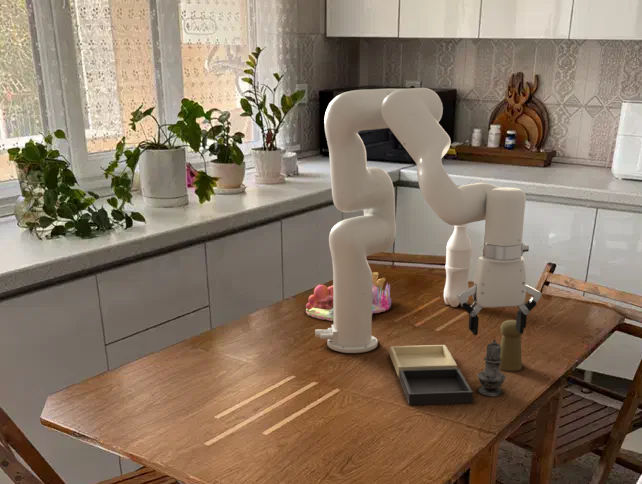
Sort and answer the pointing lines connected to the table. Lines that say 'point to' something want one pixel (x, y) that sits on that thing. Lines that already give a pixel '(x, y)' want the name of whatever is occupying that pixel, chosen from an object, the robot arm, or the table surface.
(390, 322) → the table surface
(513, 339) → the cork
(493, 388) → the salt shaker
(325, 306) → the candy landscape model
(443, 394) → the charcoal tray
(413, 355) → the cream tray
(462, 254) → the water bottle
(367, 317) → the robot arm
